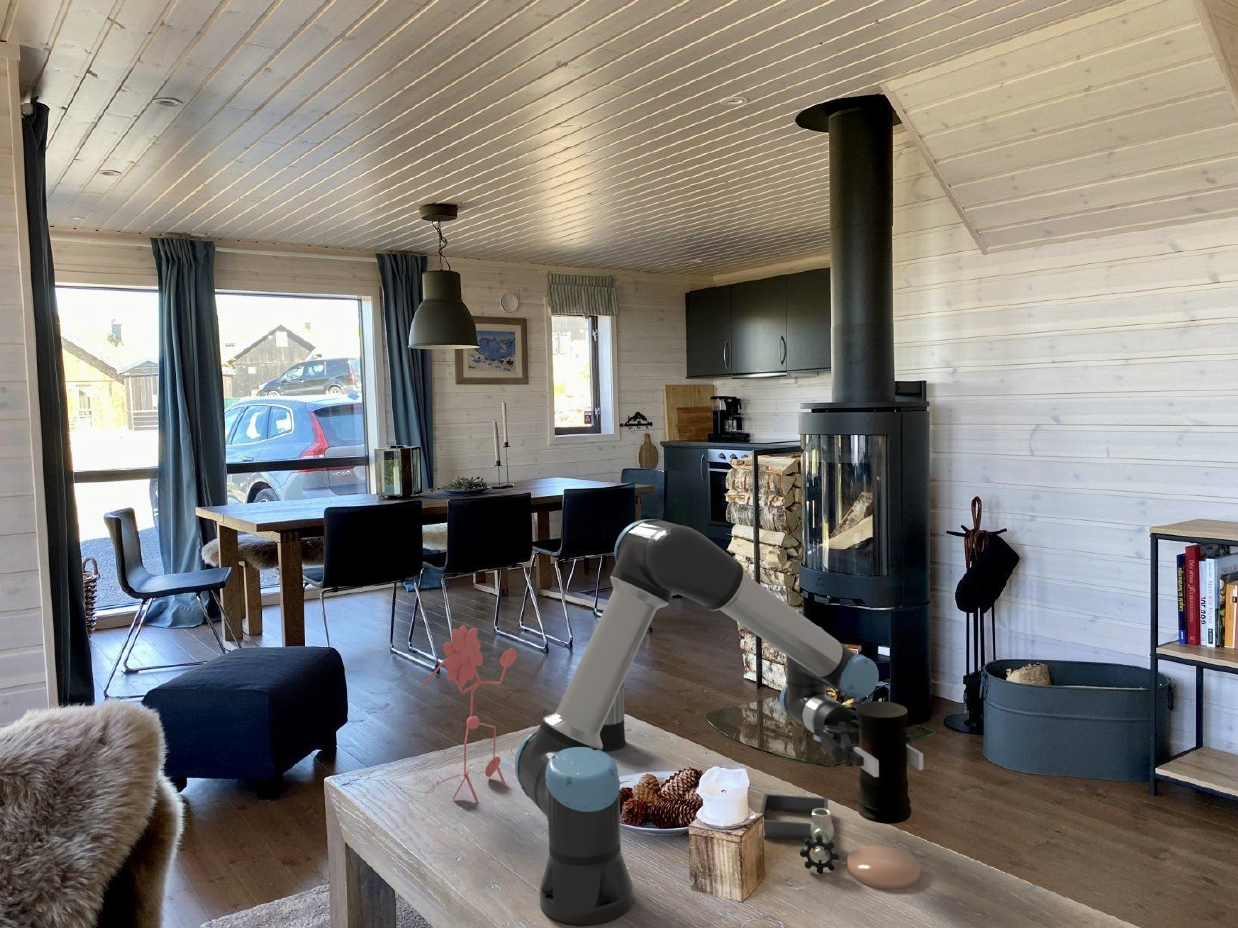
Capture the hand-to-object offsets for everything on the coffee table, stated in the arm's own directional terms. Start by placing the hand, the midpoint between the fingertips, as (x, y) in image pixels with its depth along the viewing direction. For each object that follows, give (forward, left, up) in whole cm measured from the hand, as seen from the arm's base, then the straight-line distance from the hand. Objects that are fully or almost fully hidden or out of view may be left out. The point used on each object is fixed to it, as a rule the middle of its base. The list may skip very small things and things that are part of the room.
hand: (898, 765), depth 153 cm
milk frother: (+51, +68, -20) cm, 87 cm away
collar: (+19, +19, -20) cm, 33 cm away
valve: (+7, +13, -20) cm, 25 cm away
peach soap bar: (+4, +3, -20) cm, 21 cm away
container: (+4, +2, -10) cm, 11 cm away
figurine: (+24, +88, -20) cm, 93 cm away
